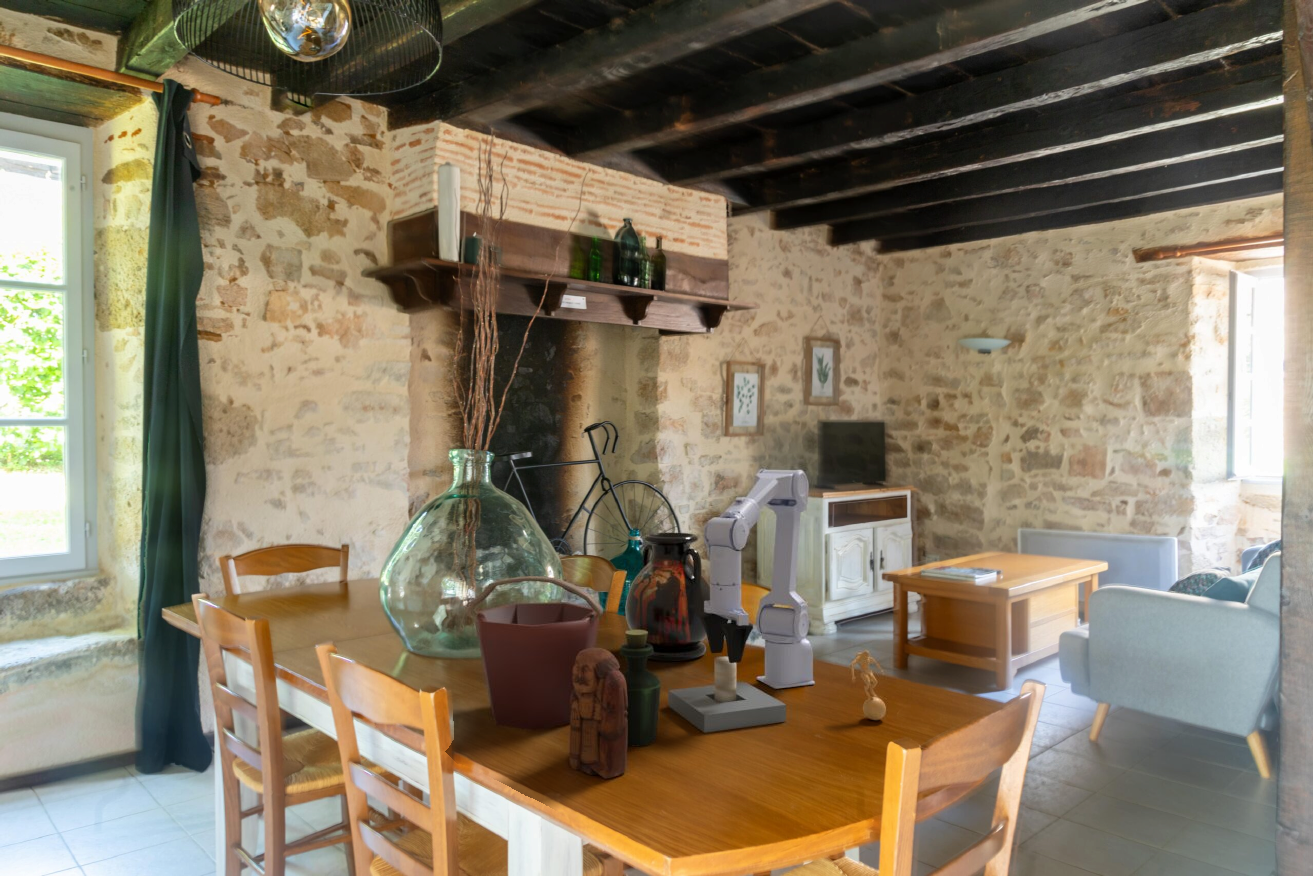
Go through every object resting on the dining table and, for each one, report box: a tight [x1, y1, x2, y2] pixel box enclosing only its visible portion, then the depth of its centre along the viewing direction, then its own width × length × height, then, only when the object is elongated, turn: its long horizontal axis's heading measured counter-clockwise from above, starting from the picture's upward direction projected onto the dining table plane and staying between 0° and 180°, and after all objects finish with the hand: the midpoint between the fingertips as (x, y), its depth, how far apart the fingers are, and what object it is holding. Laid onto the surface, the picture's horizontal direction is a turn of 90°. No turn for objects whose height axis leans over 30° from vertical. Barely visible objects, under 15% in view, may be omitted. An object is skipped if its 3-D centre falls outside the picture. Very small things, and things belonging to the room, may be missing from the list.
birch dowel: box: [713, 655, 737, 703], centre depth 158 cm, size 4×4×10 cm
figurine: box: [849, 650, 887, 721], centre depth 156 cm, size 8×6×12 cm
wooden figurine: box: [568, 647, 628, 779], centre depth 132 cm, size 12×6×18 cm, turn 45°
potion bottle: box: [618, 630, 662, 747], centre depth 144 cm, size 8×8×18 cm
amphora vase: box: [624, 532, 710, 662], centre depth 203 cm, size 22×22×28 cm
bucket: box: [467, 575, 604, 731], centre depth 159 cm, size 24×22×25 cm
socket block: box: [668, 681, 787, 734], centre depth 158 cm, size 16×16×3 cm
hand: (725, 657), depth 158 cm, fingers open, 7 cm apart
